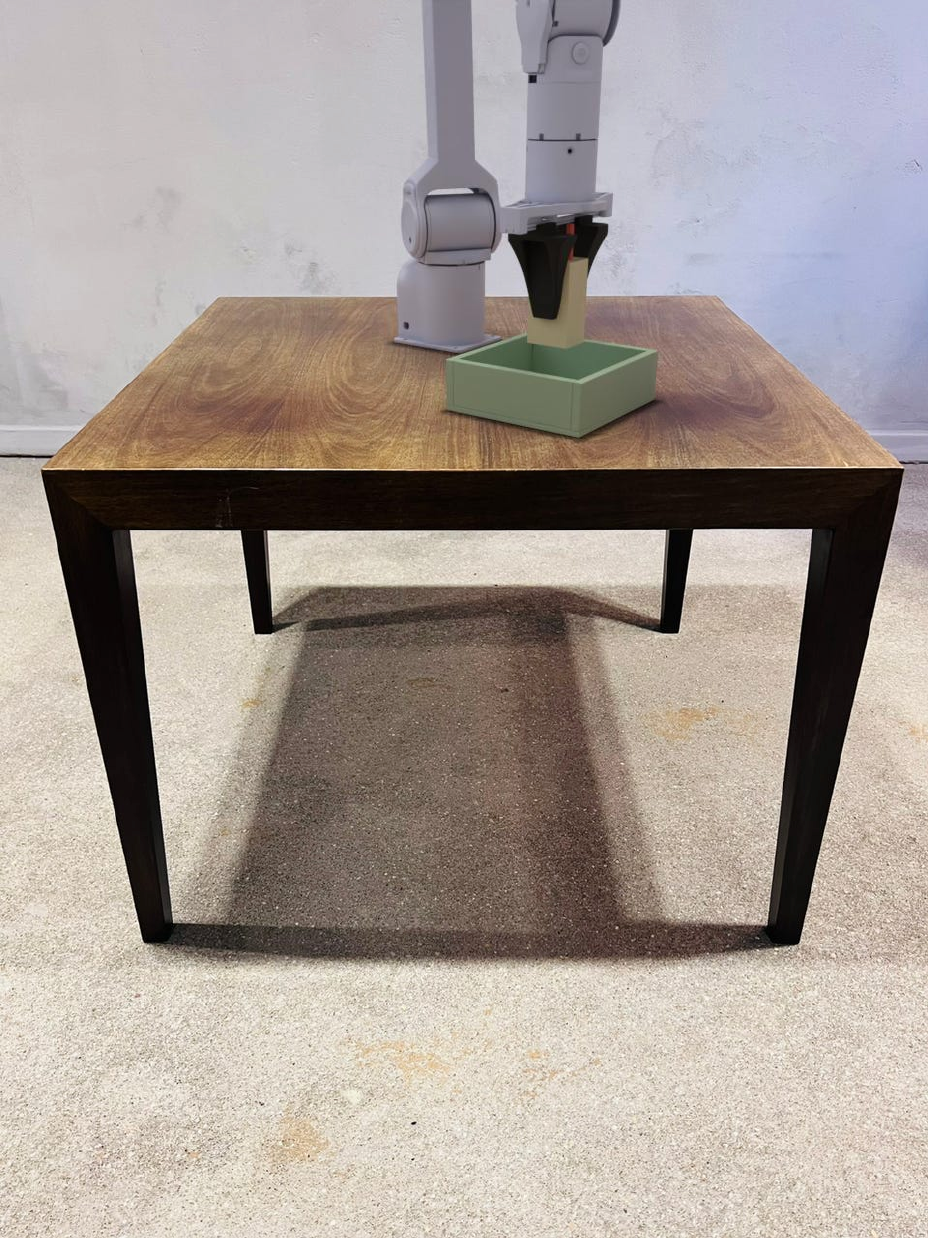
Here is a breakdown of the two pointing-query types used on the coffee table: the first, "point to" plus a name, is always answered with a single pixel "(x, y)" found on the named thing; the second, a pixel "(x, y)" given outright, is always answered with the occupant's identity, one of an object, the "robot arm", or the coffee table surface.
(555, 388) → the bin
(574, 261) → the juice box
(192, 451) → the coffee table surface
